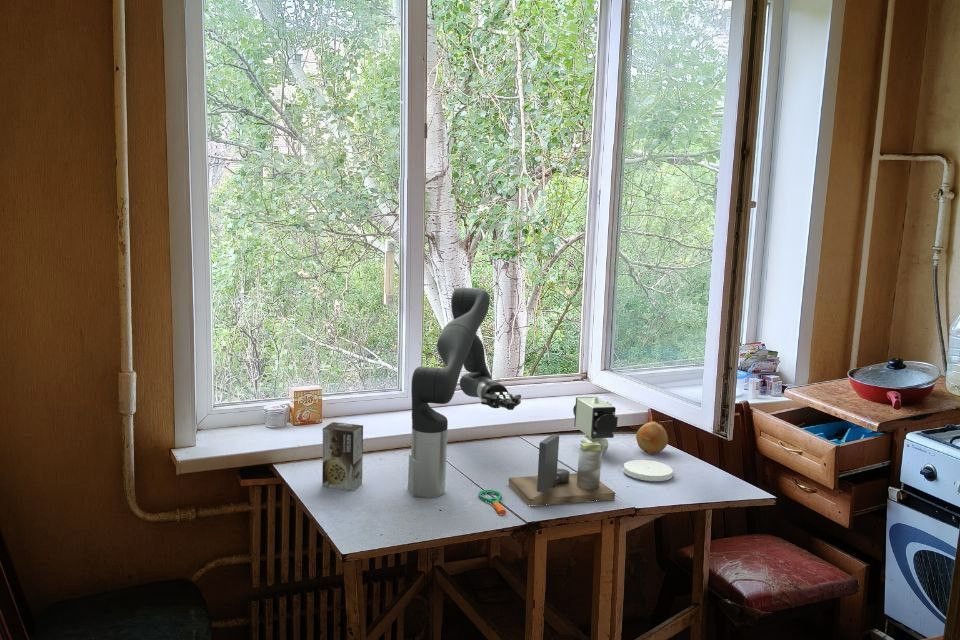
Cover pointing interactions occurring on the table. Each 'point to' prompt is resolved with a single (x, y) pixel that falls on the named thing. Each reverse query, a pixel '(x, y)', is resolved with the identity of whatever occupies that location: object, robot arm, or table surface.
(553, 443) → the grey panel with handle
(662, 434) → the onion
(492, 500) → the magnifying glass
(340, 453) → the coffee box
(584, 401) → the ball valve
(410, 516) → the table surface
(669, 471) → the plastic lid
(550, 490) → the base
